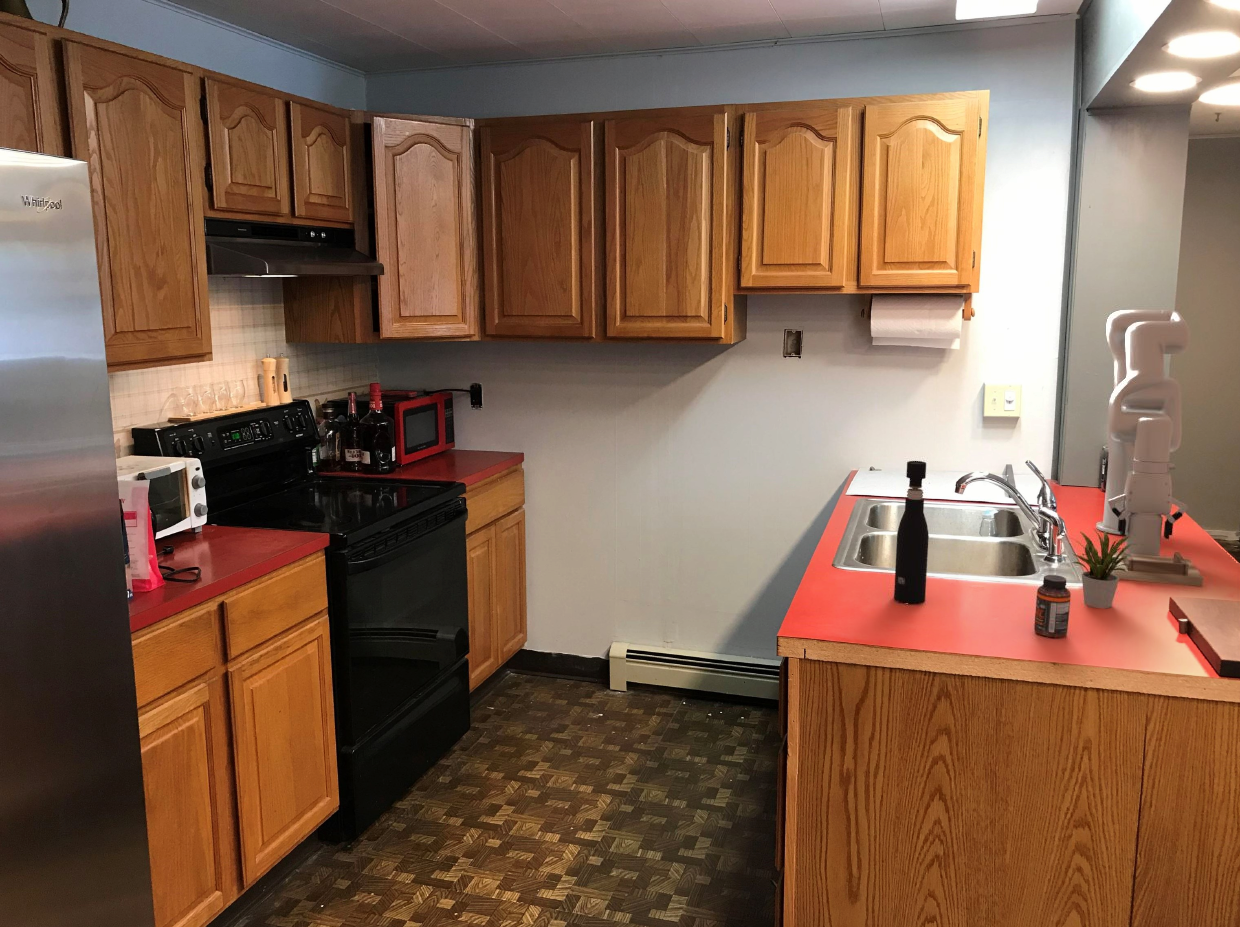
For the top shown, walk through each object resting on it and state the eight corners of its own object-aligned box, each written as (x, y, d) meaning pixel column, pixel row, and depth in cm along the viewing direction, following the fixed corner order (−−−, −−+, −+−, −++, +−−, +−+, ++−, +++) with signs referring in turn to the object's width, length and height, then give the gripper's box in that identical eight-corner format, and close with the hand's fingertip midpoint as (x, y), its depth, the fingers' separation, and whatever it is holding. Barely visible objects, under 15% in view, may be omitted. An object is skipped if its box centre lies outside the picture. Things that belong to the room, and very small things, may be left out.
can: (1150, 553, 243) (1155, 506, 241) (1164, 561, 236) (1169, 513, 234) (1119, 552, 244) (1123, 505, 242) (1131, 560, 236) (1136, 512, 234)
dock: (1104, 559, 237) (1105, 542, 236) (1187, 566, 231) (1189, 548, 230) (1112, 578, 222) (1114, 559, 222) (1202, 586, 216) (1204, 566, 216)
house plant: (1152, 604, 204) (1159, 529, 201) (1130, 621, 195) (1137, 542, 192) (1081, 590, 214) (1088, 518, 211) (1057, 604, 204) (1063, 529, 201)
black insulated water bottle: (925, 596, 210) (933, 460, 204) (924, 605, 204) (932, 465, 199) (894, 593, 212) (901, 458, 207) (892, 602, 206) (899, 464, 201)
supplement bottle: (1027, 628, 191) (1032, 573, 189) (1057, 627, 191) (1061, 572, 189) (1043, 639, 185) (1048, 582, 183) (1073, 638, 185) (1078, 581, 183)
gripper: (1187, 467, 236) (1181, 535, 239) (1108, 463, 242) (1103, 530, 244) (1194, 472, 229) (1187, 542, 232) (1113, 467, 235) (1107, 536, 238)
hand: (1144, 536), depth 238 cm, fingers open, 9 cm apart
